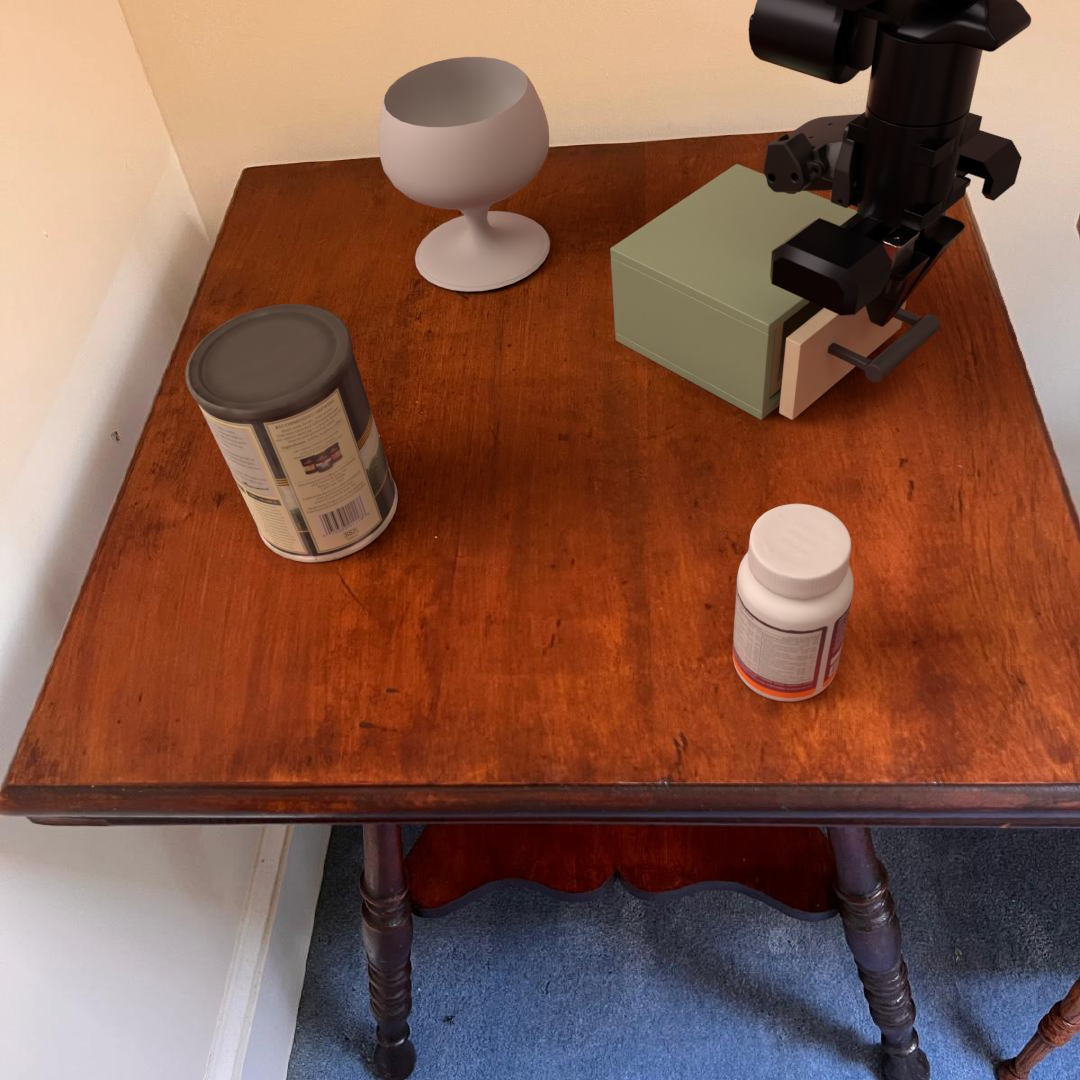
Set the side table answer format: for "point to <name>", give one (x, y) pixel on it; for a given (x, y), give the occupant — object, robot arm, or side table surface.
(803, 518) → the pill bottle
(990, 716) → the side table surface
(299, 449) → the coffee can
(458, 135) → the chalice
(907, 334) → the drawer
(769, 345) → the cabinet
